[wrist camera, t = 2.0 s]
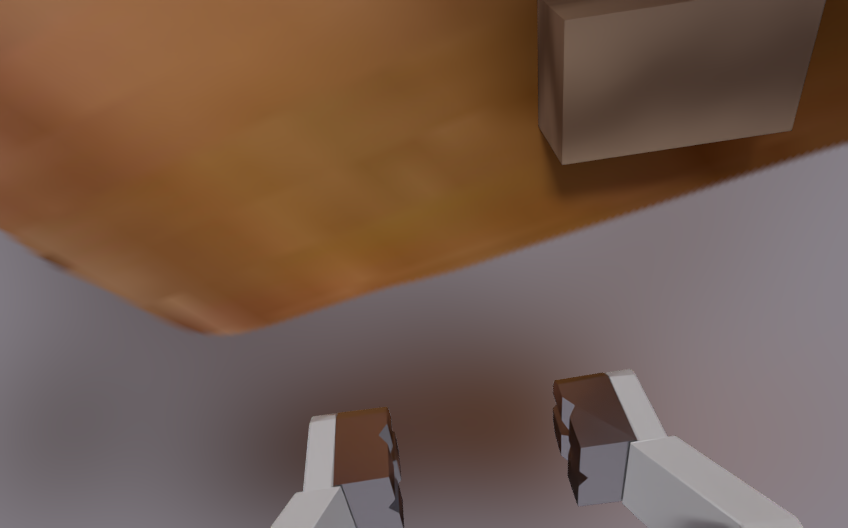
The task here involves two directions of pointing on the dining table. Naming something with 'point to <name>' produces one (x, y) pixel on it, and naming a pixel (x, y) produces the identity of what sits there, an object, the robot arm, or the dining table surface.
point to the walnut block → (669, 72)
